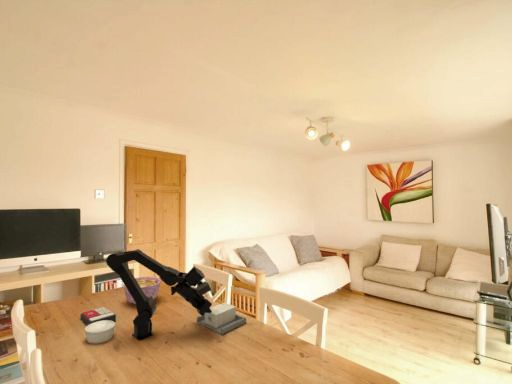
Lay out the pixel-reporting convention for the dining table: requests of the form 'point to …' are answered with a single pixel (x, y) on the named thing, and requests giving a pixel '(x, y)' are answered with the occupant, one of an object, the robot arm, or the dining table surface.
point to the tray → (226, 327)
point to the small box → (220, 315)
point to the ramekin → (99, 331)
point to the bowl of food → (145, 287)
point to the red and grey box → (97, 316)
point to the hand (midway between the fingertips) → (210, 312)
